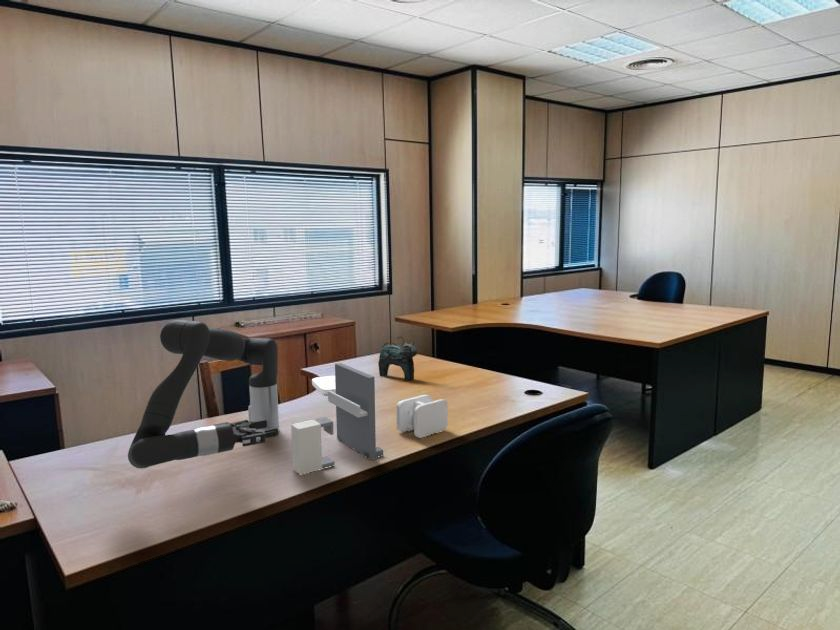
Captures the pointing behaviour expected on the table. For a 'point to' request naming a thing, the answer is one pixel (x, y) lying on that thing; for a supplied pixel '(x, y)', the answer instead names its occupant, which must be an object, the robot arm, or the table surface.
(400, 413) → the cable organizer
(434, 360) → the table surface
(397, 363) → the ceramic cat
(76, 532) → the table surface
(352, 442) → the wall board
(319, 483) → the table surface
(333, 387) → the mac mini
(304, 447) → the white block
